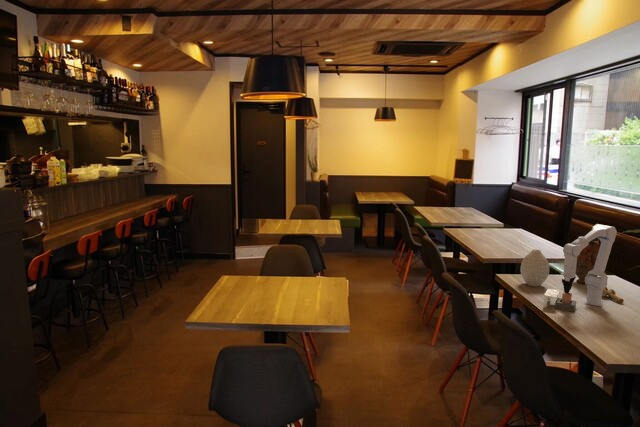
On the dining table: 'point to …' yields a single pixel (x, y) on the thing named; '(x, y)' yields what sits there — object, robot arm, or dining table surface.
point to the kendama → (612, 295)
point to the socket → (565, 305)
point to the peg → (566, 298)
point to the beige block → (550, 296)
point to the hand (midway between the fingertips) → (567, 291)
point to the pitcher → (587, 260)
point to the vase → (535, 268)
